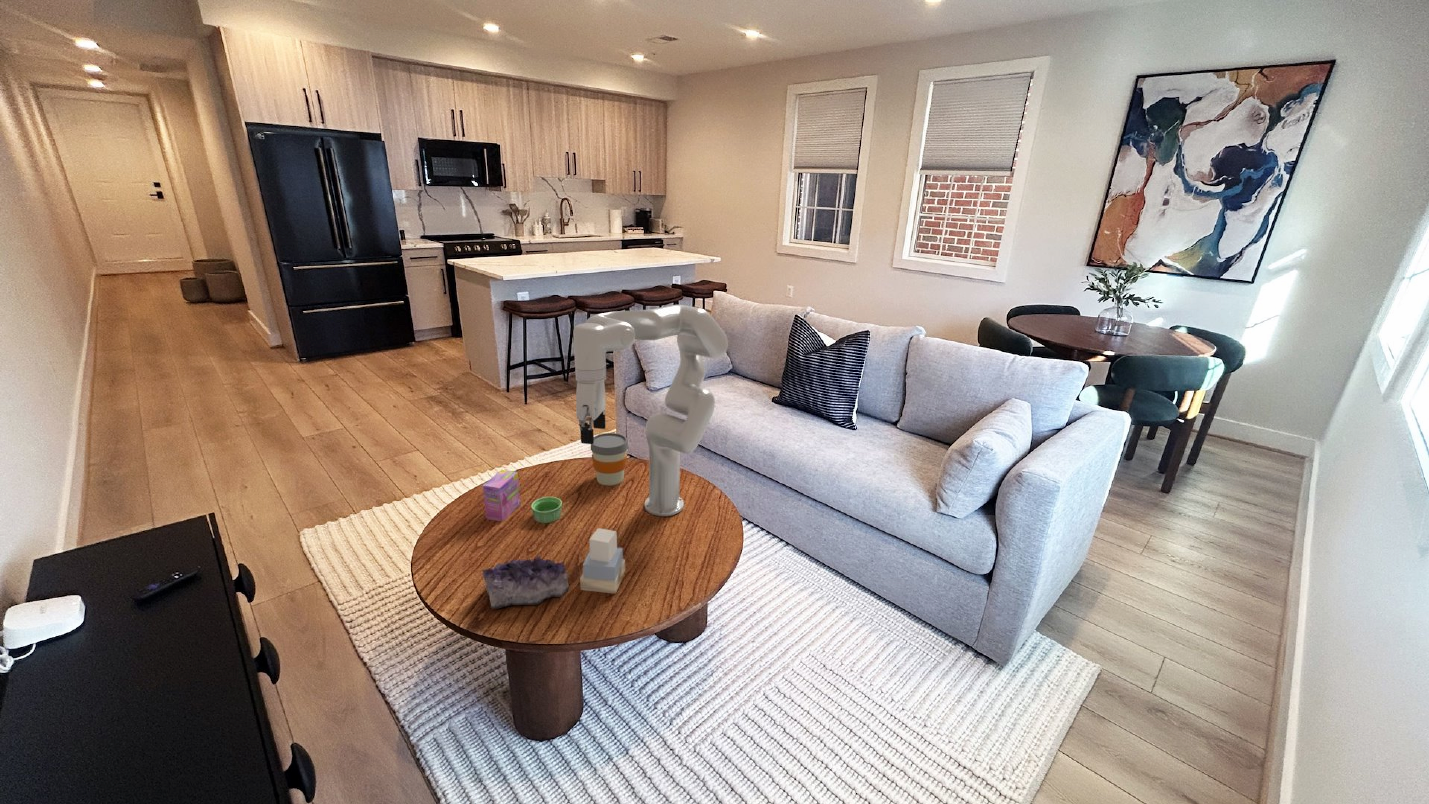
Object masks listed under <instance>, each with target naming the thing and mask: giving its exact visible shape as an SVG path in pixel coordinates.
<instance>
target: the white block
mask: <svg viewBox="0 0 1429 804" xmlns="http://www.w3.org/2000/svg"><path fill="white" fill-rule="evenodd" d="M617 535H618V534H617V531H615V530H612V529H607V528H606V529H605V528H599V527H598V528H597V529H596V531H594V532H593V534H592V535H591V537H590V538H589V551H590V558H591V559H592V560H597V561H602V562H607V563H609V562H610V561H611V559H612V558H613V556H614V555H615V553H616V552H617V548H618V537H617Z"/></svg>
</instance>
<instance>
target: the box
mask: <svg viewBox="0 0 1429 804" xmlns="http://www.w3.org/2000/svg"><path fill="white" fill-rule="evenodd" d="M519 486H520V484H519V473H518V471H514V470H507V469H501V470H499V471H498V472H497V473H496V474H494V475H493V476H492V477H491V478H490V479H488V480H487V481H486V482H485V483H484V484H483V485H482V490H483V491H482V492H483V501H484V502H483V503H484V511H485V518H486V519H487V520H488V521H489V520H491V521H496V522H504V521H505V520H506V519H508V517H509V516H510V515H511V514H512V513H513V512H514V511H515V510H516V509H517V508H518V507H519V506H521V497H520V496H521V495H520V487H519Z"/></svg>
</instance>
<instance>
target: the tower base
mask: <svg viewBox="0 0 1429 804" xmlns="http://www.w3.org/2000/svg"><path fill="white" fill-rule="evenodd" d="M625 573H626V559H624V558H623V562H622V564H621V567H620V569H619V572H618V575H617V577H616V580H615V581H613V580H602V579H590V578H584V575H583V572H582V573H581V576H580V578H579V582H580V583H579V584H580V591H589V592H598V593H604V594H605V593H606V594H617V591H618V589H619V586H620V584H621V582H622V580H623V577H624V575H625Z"/></svg>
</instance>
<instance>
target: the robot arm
mask: <svg viewBox="0 0 1429 804" xmlns="http://www.w3.org/2000/svg"><path fill="white" fill-rule="evenodd" d="M572 331H573V334H572V335H573V349H574V350H573V351H574V352H573V353H574V367H575V370H574V371H575V380H576V391H575V392H576V393H575V394H576V395H575V410H576V411H575V416H576V419H577V420H578V423H579V424H578V425H579V430H580V431H579V432H580V443H581V444H586V445H591V444H593V443H594V437H595V436H594V435H595V434H594V429H599V430H604V429H606V409H605V408H606V401H607V400H606V399H607V398H606V387H605V386H606V385H605V381H606V380H607V363H606V361H607V360H606V359H607V358H606V356H607V355H606V354H607V352H618V351H619V352H620V351H624V350H627V349H629V348H631V346H632V345H633V344H634V343H635V340H639V341H658V340H662V339H665V338H669V337H674V336H676V342H677V343H676V344H677V346H678V351H679V358H680V362H679V365H678V366H679V367H678V369H677V371H676V373H675V376H674V378H673V380H672V381H671V384H670V386H669V388H668V391H667V392H666V395H665V397H664V404H665V407H666V408H667V409H668V410H669V411H671V412H672V413H673V412H674V413H676V414H679V415H682V416H684V417H686V418H685V419H684V418H681V417H678V416H676V415H672V414H670V413H665V412H657V413H654V414H652V415H651V416H650V417H649V418H648V419H647V421H646V422H645V423H646V424H645V436H646V440H647V446H648V476H649V477H648V480H649V482H648V483H649V485H648V487H649V488H648V489H649V491H648V493H649V495H648V497H647V498H646V499H645V501H644V509H645V511H647V513H649V514H651V515H654V516H659V517H670V516H674V515H676V514H679V513H680V512H681V511H682V510H683V509H684V506H685V503H684V502H685V501H684V500H683V498H682V497H680V475H681V474H680V471H681V470H680V469H681V468H680V467H681V465H680V464H681V458H680V457H681V456H680V453H682V454H691V453H692V452H693V451H695V449H697V447H698V446H699V444H700V442H701V440H702V438H703V435H704V434H705V431H706V430H707V427H708V425H709V423H710V420H711V419H712V417H713V413H714V411H715V407H716V406H715V405H716V400H715V396H714V395H713V393H712V392H711V391H710V390H708V389H706V388H703V387H702V384H703V381H704V380H705V376H706V366H705V362H704V359H703V357H704V358H709V359H714V360H718V359H721V358H722V357H724V356H725V355H726V353H727V351H728V348H729V340H728V337H727V335H726V333H725V332H724V330H723V329H722V328H721V326H720V325H719V324H718V322H717V321H716V320H715V318H714V317H713V316H712V315H711V314H710V313H709V312H708V311H707V310H705V309H704V308H700V307H696V306H690V305H685V304H684V305H683V304H673V305H667V306H663V307H657V308H650V309H639V310H637V309H636V310H634V309H633V310H620V311H617V310H616V311H609V312H604V313H603V312H602V313H598V314H597V313H596V314H594V315H591V316H590V317H589V318H587V320H586V321H585V323H579V324H577V325H575V326H574V328H573V330H572ZM593 428H594V429H593Z"/></svg>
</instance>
